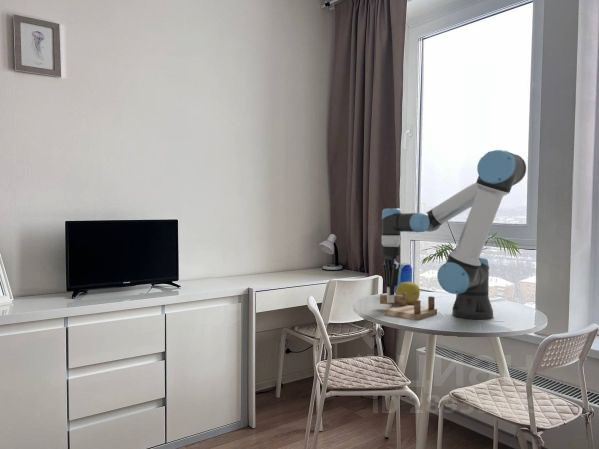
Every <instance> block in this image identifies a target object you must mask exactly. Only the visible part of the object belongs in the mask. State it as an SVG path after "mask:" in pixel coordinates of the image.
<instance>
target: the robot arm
mask: <svg viewBox="0 0 599 449" xmlns="http://www.w3.org/2000/svg"><path fill="white" fill-rule="evenodd" d="M476 170H477V174H478V176H477V179H476V181H475V182H473V183H471V184H469V185H468V186H466V187H464V188H463V189H461V190H460V191H458V192H456V193H455V194H453V195H452V196H450V197H448V198H447V199H446V200H444V201H443V202H440V203H439V204H438V205H436V206H435V207H433V208H431V209H430V210H428V211H426V212H424V213H422V212H408V213H407V212H405V213H401V212H402V211H401V209H400V208H383V210H382V211H381V245H382V246H381V256H384V261H381V264H382V272H383V273H382V274H383V282H384V285H386V295H387V303H394V295H395V286H397V284H398V275H399V268H400V264H398V263H399V262H398V256H400V255H401V247H400V245H401V239H402V237H401V233H405V232H407V233H408V232H409V233H424V232H425V233H426V232H434V231H435V232H436V231H437V230H439V229H440V227H441V226H442V225H443V224H445V223H447V222H448V221H449V220H452V219H453V218H455V217H457V216H458V215H460V214H461V213H463V212H465V211H467V210H468V209H470V210H469V212H468V216H467V219H466V221H465V224H464V226H463V229H462V232H461V234H460V237H459V240H458V241H457V245H456V246H455V247H456V248H455V250H452V251H450V252H449V254H448V256H447V260H446V262H445V263H443V264H442V265H441V266H440V267H439V269H438V271H437V278H436V279H437V282H438V283H439V286H440V287H441V288H442V290H444V291H445V292H447V293H449V294H452V295H456V297H455V300H454V304H453V306H452V316H455V317H458V318H463V319H470V320H488V319H493V318H494V309H493V306H492V304H491V301H490V297H489V291H490V290H489V284H490V283H489V280H490V279H489V278H490V277H489V276H490V274H489V273H490V272H489V270H490V266H489V265H490V264H489V260H488V259H487V258H485V257H480V256H481V253H482V251H483V248H484V245H485V243H486V240H487V239H488V236H489V232H490V231H491V228H492V225H493V223H494V220H495V217H496V215H497V212H498V210H499V208H500V205H501V203H502V200H503V198H504V197H505V196H507V195H508V194H510V193H511V190H512V187H513V186H515V185H517V184H519V183H520V182H521V181H522V180H523V179H524V177H525V176H526V173H527V163H526V162H525V160H524V159H523V158H522V156H520V155H519V154H516V153H513V152H510V151H508V150H505V149H494V150H493V149H492V150H490V151H488V152H485V153H484V154H483V155H482V156H481V157H480V159H479V161H478V163H477V167H476Z"/></svg>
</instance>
